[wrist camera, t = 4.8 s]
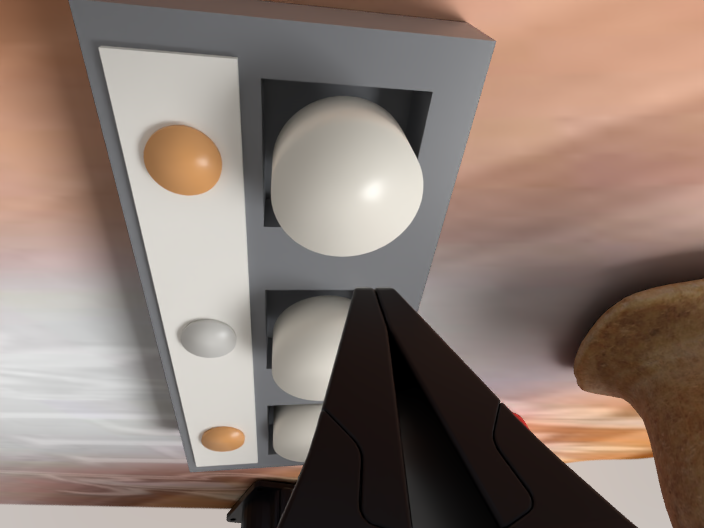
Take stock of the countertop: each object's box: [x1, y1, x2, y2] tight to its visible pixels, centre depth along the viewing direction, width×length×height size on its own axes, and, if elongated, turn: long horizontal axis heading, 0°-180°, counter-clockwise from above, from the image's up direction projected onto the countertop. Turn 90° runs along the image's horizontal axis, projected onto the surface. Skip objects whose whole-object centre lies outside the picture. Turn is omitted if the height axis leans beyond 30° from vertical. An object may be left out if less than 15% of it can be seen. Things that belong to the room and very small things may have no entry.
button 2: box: [273, 403, 323, 462], centre depth 24 cm, size 4×4×2 cm
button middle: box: [272, 295, 351, 401], centre depth 18 cm, size 4×4×2 cm
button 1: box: [271, 96, 423, 257], centre depth 13 cm, size 4×4×2 cm
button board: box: [68, 0, 496, 472], centre depth 20 cm, size 24×11×3 cm, turn 173°
